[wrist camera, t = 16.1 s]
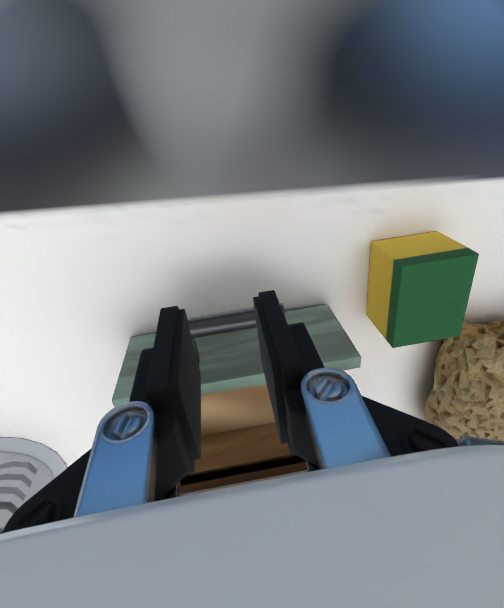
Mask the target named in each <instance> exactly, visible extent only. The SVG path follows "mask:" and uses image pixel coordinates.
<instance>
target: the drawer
mask: <svg viewBox="0 0 504 608" xmlns="http://www.w3.org/2000/svg"><path fill="white" fill-rule="evenodd" d="M279 304H280V306H281V309H282V311H283V314H284V316H285V319H286V321H287V324H294V323H300V322H303V323H304V325H305V326H306V329H307V331H308V333H309V335H310V337H311V339H312V341H313V343H314V346H315V348H316V350H317V352H318V354H319V356H320V358H321V360H322V362H323V365H324V367H325V368H335V369H339V370H341V371H342V370H348V369H353V368H359V367H360V363H361V356H360V354H359V353H358V351H357V350H356V348H355V347H354V345H353V343H352V342H351V340H350V339H349V337H348V336H347V334H346V332H345V331H344V329H343V328H342V326H341V324H340V323H339V321H338V320H337V318H336V317H335V315H334V313H333V312H332V310H331V309H330V307H329V306H328V304H326V305H320V306H314V307H308V308H302V309H296V310H290V311H285V310H284V306H283V304H282V303H279ZM187 320H188V324H189V328H190V332H191V336H192V340H193V344H194V348H195V352H196V356H197V360H198V364H199V368H200V374H201V459H199V460H195V472H193V473H188V474H186V475H185V476H184V477H188V476H193V475H198V474H203V473H209V472H214V471H219V470H225V469H230V468H235V467H240V466H246V465H251V464H256V463H261V462H267V461H272V460H277V459H282V458H288V457H293V456H298V455H296V454H294V453H293V454H290V452H289V448H288V444H287V443H285V444H281V443H280V439H279V435H278V430H277V426H276V422H275V418H274V414H273V409H272V405H271V401H270V397H269V392H268V388H267V384H266V380H265V375H264V371H263V367H262V362H261V355H260V347H259V340H258V332H257V324H256V317H255V309H254V308H249V309H243V310H237V311H231V312H225V313H219V314H212V315H206V316H200V317H194V318H188V319H187ZM155 336H156V333H153V334H147V335H141V336H135V337H131V338H130V341H129V344H128V348H127V351H126V354H125V358H124V361H123V364H122V368H121V371H120V374H119V378H118V381H117V384H116V388H115V391H114V394H113V398H112V402H113V405H114V407H117V406H119V405H121V404H124V403H127V402H129V400H130V396H131V391H132V387H133V383H134V379H135V375H136V371H137V367H138V362H139V358H140V354H141V351H142V350H143V349H146V348H152V347H153V346H154V341H155Z"/></svg>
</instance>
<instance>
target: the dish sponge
mask: <svg viewBox="0 0 504 608" xmlns="http://www.w3.org/2000/svg"><path fill="white" fill-rule="evenodd" d="M478 256H479V254H478V253H476V252H475V251H473V250H471V249H469V248H467V247H465V246H464V245H462V244H460V243H458V242H456V241H454V240H452V239H450V238H449V237H447V236H445V235H443V234H441V233H439V232H437V231H433V232H427V233H421V234H415V235H408V236H402V237H396V238H390V239H383V240H377V241H371V249H370V265H369V281H368V297H367V313H366V315H367V316H368V317H369V319H370V320H371V321H372V322H373V324H374V325H375V326H376V327H377V329H378V330H379V331H380V333H381V334H382V335H383V336H384V338H385V339H386V340H387V341H388V343H389V344H390V345H391V346H392V348H395V347H401V346H406V345H412V344H417V343H423V342H429V341H434V340H440V339H446V338H451V337H457V336H460V333H461V328H462V324H463V320H464V316H465V311H466V307H467V303H468V299H469V294H470V290H471V286H472V281H473V277H474V273H475V269H476V264H477V260H478Z"/></svg>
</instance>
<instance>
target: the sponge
mask: <svg viewBox="0 0 504 608" xmlns="http://www.w3.org/2000/svg"><path fill="white" fill-rule="evenodd" d="M425 419H426V422H429V423H431V424H434V425H436V426H438V427H440V428H442V429H444V430H445V431H446V432H448V433H449V434H450V435H451V436H453V437H454V439H461V440H462V437H463V435H465V436H471V437H478V438H484V439H490V440H497V441H503V442H504V322H500V321H497V320H495V321H492V322H489V323H487V324H486V325H484V324H470V323H468V322H465V321H463V324H462V328H461V333H460V336H457V337H451V338H446V339H444V343H443V345H441V347H440V349H439V352H438V358H437V359H436V365H435V370H434V386H433V389H432V391H431V393H430V395H429V397H428V399H427V402H426V405H425Z"/></svg>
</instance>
